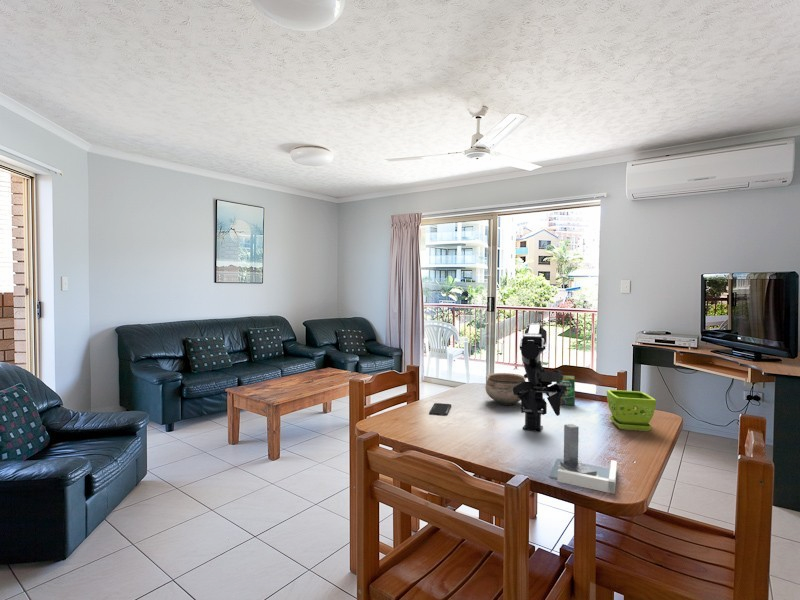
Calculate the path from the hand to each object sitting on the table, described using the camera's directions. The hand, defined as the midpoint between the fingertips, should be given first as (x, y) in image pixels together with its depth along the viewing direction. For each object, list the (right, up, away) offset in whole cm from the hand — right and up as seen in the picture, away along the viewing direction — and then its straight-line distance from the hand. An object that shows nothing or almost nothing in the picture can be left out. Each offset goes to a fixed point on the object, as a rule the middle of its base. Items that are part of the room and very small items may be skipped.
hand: (547, 415), depth 134 cm
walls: (+6, -13, -15) cm, 21 cm away
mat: (+5, -13, -13) cm, 19 cm away
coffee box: (+29, -11, +59) cm, 66 cm away
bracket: (+4, -12, -12) cm, 18 cm away
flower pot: (+41, -12, +28) cm, 51 cm away
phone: (-29, -12, +49) cm, 58 cm away
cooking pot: (+2, -11, +60) cm, 61 cm away
